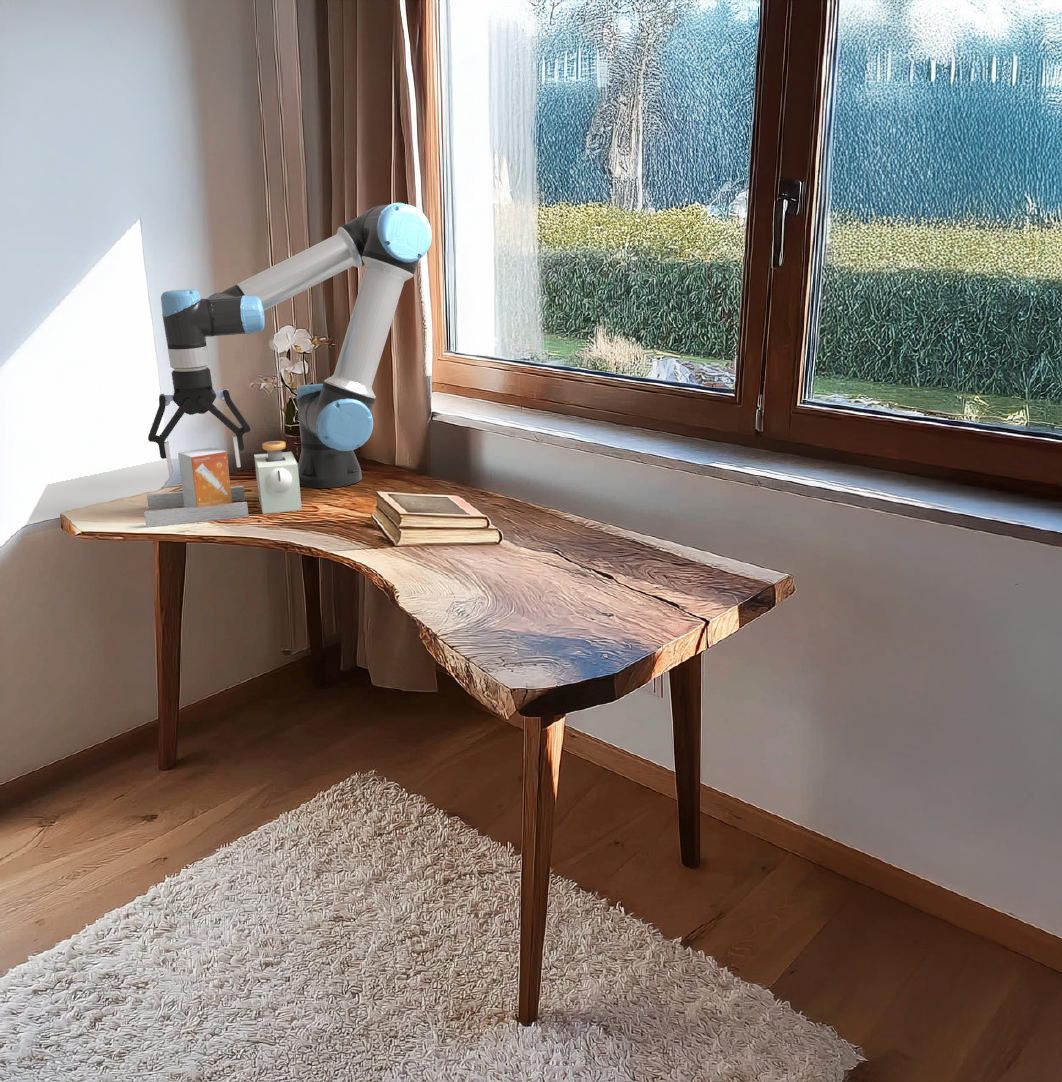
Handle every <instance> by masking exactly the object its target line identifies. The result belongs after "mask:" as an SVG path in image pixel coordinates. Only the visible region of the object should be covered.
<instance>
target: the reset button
mask: <svg viewBox="0 0 1062 1082" xmlns="http://www.w3.org/2000/svg"><path fill="white" fill-rule="evenodd" d="M261 445H262V449H263V451H266V452H267V453H266V454H268V462H274V461H283V458H282V452H283V450H284V449H286V448H287V445H286V441H283V440H272V441H265V442H263V443H261Z"/></svg>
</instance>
